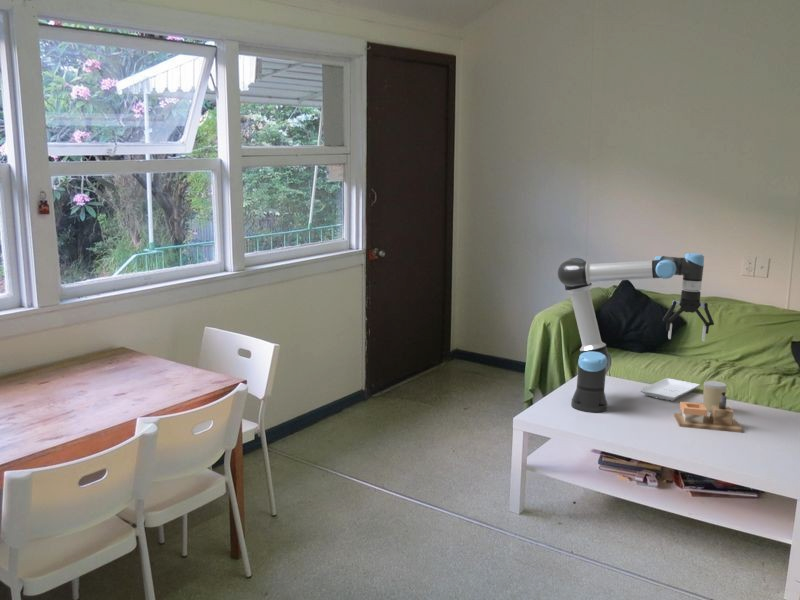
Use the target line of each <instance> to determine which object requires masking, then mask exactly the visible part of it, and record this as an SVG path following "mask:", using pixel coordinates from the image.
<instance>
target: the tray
mask: <svg viewBox="0 0 800 600" xmlns="http://www.w3.org/2000/svg"><path fill="white" fill-rule="evenodd" d="M700 386H701V384H700V383H694V382H689V381H684V380H680V379H673V378H667V377H666V378H663V379H661V380H659V381H657V382H654V383H652V384H650V385H648V386H646V387H643V388H641V389H639V391H640V393H643V394H645V396H647V397H650V396H652V397H651V398H654V397H657V398H656V399H658V398H661V399H660V400H663V399H666V400H665V401H667V400H673V401H674V399H675V400H677V399H678V398H680V397H682V396H684V395H687V394H688V393H691V392H692V391H693V390H696V389H698V387H700ZM662 388H663V389H662ZM664 389H665V390H664ZM666 389H667V390H666ZM669 389H670V391H669ZM671 390H672V391H674V390H677V391H674V392H671ZM678 391H679V392H678Z"/></svg>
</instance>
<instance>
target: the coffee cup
mask: <svg viewBox="0 0 800 600" xmlns="http://www.w3.org/2000/svg"><path fill="white" fill-rule="evenodd" d="M726 392H727V384H726V383H724V382H722V381H716V380H705V381H704V382H703V391H702V393H703V394H702V404H704V406H705V407H706V409H707V412H708V411H709V413H711V405H718V406H719V404H720V396H726Z"/></svg>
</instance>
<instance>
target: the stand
mask: <svg viewBox="0 0 800 600" xmlns="http://www.w3.org/2000/svg"><path fill="white" fill-rule="evenodd" d="M727 398H728V396H726V395H725V396H720V404H719V406H718V405H711V412H709V413H710V414H709V415H710V416H709V415H707V416H702V415H691V414H683V412H682V411H681V413H680V412H679V413H678V412H675V413H674V414H673V415H674V416H673V417H674V418H675V421H676V422H677V423H676V424H678V426H679V427H682V428H692V429H693V428H694V429H703V430H712V431H713V430H715V431H724V432H732V433H733V432H735V433H744V429H743V427H742V426H741V425H740V423H738V421H737V420H736V418H734V410H733V409H732V408H731V406H729V405H728V406H727Z"/></svg>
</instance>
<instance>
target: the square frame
mask: <svg viewBox="0 0 800 600" xmlns="http://www.w3.org/2000/svg"><path fill="white" fill-rule="evenodd" d="M679 408H680V410H681V413H682V412H683V414H691V415H702V416H708V411H707V409H706V407H705V406H704V404H703V403H698V402H690V401H689V402H687V401H680V403H679Z"/></svg>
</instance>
